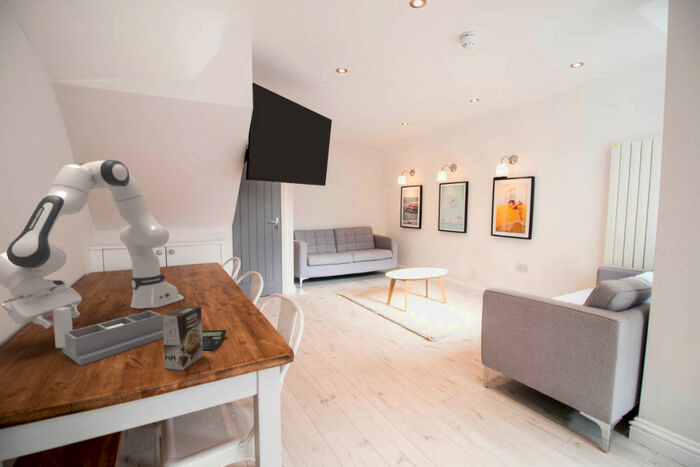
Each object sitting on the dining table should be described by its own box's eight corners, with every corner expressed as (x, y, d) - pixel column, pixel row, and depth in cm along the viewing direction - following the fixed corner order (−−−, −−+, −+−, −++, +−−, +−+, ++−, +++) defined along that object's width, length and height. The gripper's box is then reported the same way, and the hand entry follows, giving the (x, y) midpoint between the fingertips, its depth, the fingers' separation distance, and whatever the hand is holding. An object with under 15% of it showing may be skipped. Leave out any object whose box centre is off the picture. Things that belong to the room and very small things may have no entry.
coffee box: (183, 370, 89) (180, 316, 88) (164, 368, 91) (161, 314, 89) (204, 356, 98) (202, 306, 97) (186, 354, 100) (184, 305, 98)
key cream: (122, 328, 110) (121, 323, 110) (128, 331, 108) (127, 325, 107) (106, 333, 106) (106, 327, 106) (112, 336, 104) (111, 330, 104)
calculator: (185, 353, 101) (185, 344, 101) (199, 338, 112) (199, 330, 112) (215, 352, 102) (214, 343, 101) (226, 337, 113) (226, 329, 113)
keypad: (146, 327, 122) (145, 308, 121) (167, 336, 113) (166, 316, 113) (62, 352, 101) (60, 330, 101) (80, 365, 92) (78, 341, 92)
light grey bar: (64, 343, 108) (61, 307, 107) (73, 343, 108) (70, 307, 107) (55, 347, 105) (52, 310, 104) (65, 348, 105) (61, 310, 103)
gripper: (4, 294, 94) (37, 326, 95) (68, 279, 115) (95, 305, 115) (-8, 308, 95) (25, 340, 95) (58, 291, 115) (85, 317, 116)
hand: (64, 321), depth 105 cm, fingers open, 8 cm apart
